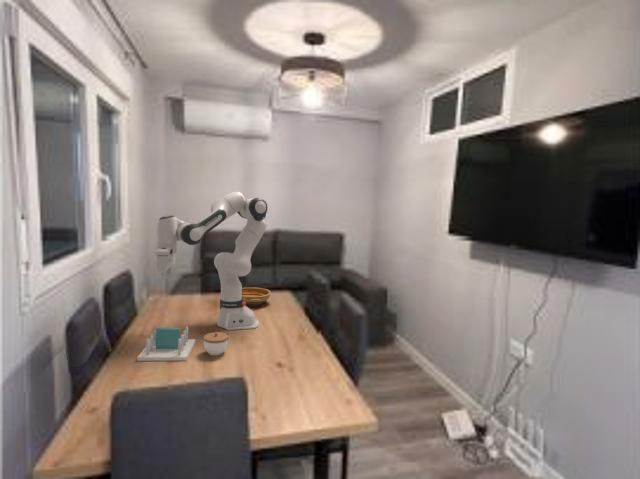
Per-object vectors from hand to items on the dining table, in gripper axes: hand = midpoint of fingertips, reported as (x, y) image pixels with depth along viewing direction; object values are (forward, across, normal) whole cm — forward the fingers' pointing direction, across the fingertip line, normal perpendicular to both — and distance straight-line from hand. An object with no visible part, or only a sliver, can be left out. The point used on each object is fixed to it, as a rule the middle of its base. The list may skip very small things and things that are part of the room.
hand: (166, 276), depth 189 cm
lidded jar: (+29, +23, +27) cm, 46 cm away
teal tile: (+28, +21, +6) cm, 35 cm away
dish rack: (+29, +21, +6) cm, 36 cm away
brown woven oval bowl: (+29, -55, +40) cm, 74 cm away
